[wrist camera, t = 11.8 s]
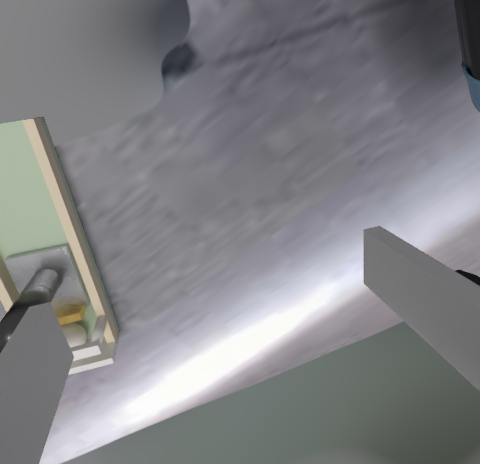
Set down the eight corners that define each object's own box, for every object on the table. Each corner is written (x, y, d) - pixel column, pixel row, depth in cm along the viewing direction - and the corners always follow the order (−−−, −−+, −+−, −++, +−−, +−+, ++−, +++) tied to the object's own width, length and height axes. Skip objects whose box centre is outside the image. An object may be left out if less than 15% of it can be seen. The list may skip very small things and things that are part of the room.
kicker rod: (7, 256, 39) (-53, 319, 28) (68, 243, 40) (33, 300, 29) (36, 317, 42) (-8, 395, 31) (91, 304, 43) (68, 375, 32)
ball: (60, 338, 45) (47, 320, 42) (92, 330, 45) (81, 312, 43) (55, 366, 42) (41, 348, 39) (89, 357, 42) (77, 339, 40)
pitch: (-63, 133, 34) (-132, 145, 26) (44, 116, 36) (10, 123, 28) (41, 350, 45) (15, 406, 37) (120, 330, 47) (111, 380, 39)
